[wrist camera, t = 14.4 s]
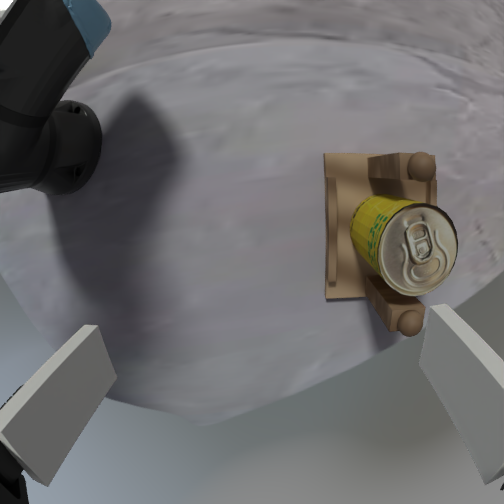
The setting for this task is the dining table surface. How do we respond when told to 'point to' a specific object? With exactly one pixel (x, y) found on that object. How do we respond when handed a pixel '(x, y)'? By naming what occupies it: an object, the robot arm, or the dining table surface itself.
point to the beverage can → (405, 242)
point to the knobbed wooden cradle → (339, 217)
